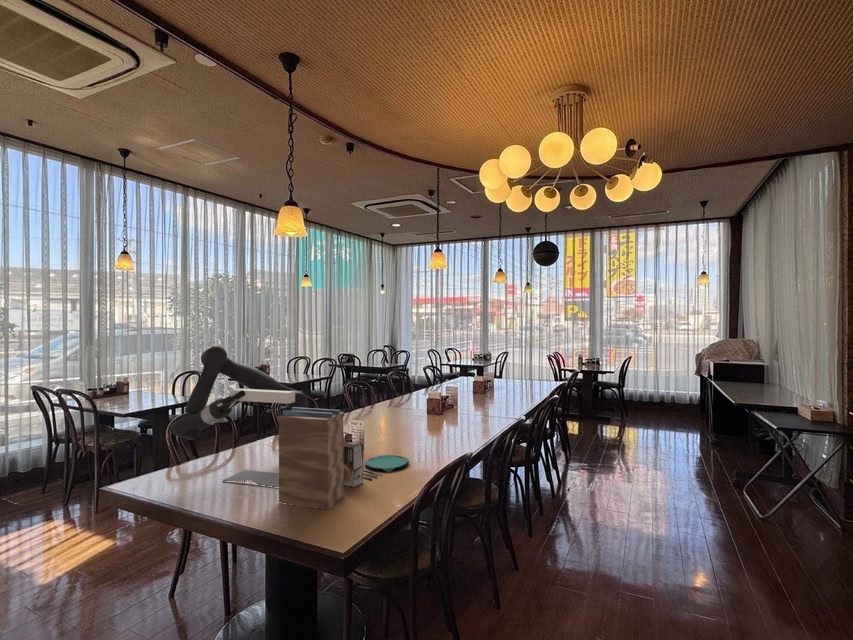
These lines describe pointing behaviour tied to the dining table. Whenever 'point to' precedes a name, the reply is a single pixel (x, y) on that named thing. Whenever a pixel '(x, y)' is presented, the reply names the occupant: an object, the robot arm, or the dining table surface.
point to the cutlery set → (385, 463)
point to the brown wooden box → (311, 457)
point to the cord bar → (266, 395)
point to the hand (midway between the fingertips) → (247, 391)
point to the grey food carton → (352, 464)
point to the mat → (256, 477)
